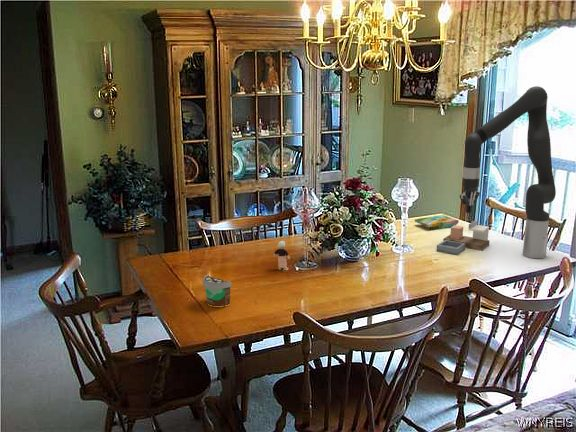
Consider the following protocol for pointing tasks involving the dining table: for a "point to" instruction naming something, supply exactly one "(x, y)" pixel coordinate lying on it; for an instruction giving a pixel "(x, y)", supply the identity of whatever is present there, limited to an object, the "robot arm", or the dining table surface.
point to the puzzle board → (471, 242)
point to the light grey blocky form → (479, 231)
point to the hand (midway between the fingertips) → (468, 212)
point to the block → (456, 232)
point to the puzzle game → (437, 222)
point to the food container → (217, 291)
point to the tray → (451, 247)
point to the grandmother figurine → (282, 256)
